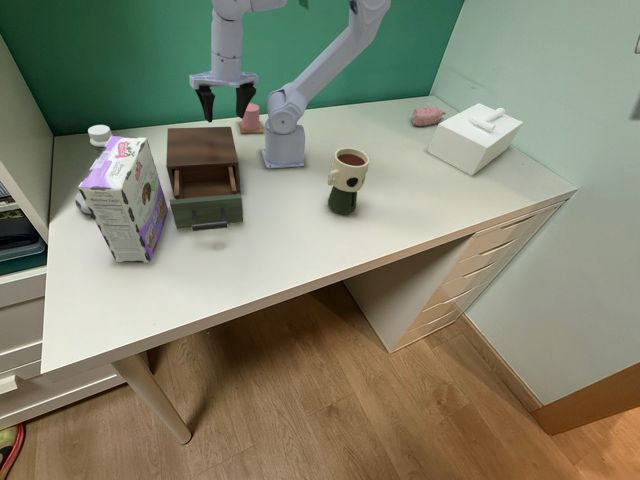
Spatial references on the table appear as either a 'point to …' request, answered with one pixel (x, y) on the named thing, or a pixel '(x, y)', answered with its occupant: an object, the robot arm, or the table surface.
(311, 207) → the table surface
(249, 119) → the pink short cylinder
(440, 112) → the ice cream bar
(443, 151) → the white slanted box
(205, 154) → the cabinet
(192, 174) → the drawer
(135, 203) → the candy box
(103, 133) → the pill bottle
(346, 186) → the character mug
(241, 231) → the table surface
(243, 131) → the cork mat
